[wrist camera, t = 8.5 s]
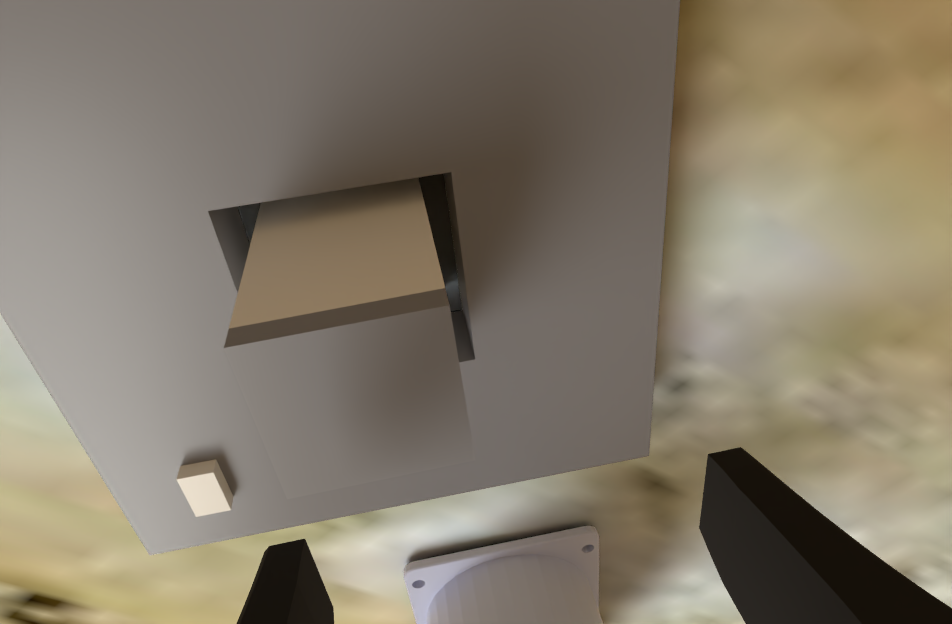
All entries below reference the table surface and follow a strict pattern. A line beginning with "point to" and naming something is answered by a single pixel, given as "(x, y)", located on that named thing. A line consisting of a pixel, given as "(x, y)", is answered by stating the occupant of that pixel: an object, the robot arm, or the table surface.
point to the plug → (348, 340)
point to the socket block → (317, 171)
